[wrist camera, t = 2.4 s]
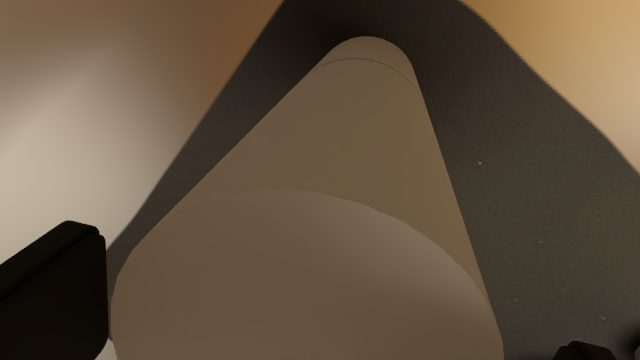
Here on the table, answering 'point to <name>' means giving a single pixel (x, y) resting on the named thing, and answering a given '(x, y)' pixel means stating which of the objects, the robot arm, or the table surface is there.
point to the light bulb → (637, 353)
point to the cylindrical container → (316, 236)
